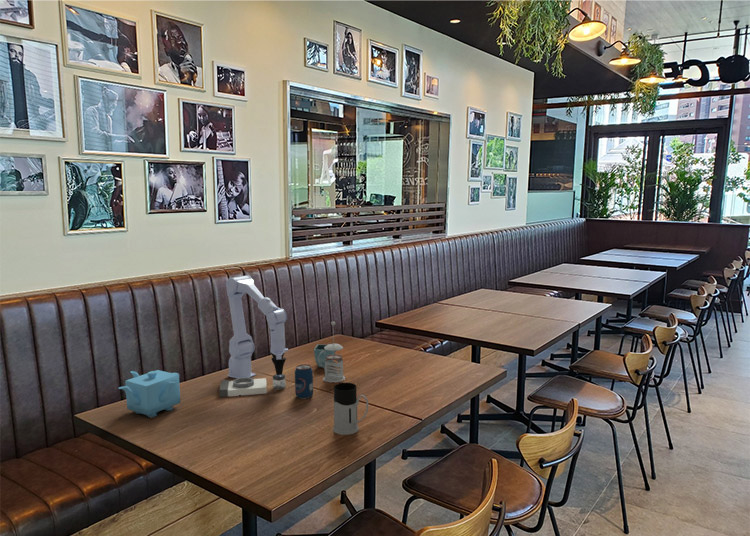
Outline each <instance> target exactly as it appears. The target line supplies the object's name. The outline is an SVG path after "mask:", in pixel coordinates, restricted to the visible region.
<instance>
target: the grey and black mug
mask: <svg viewBox="0 0 750 536" xmlns="http://www.w3.org/2000/svg"><path fill="white" fill-rule="evenodd" d="M361 397H363V398H364V400H365V403H366V405H365V406H366V409H365V412H364V415H363V416H362V417H361V418H360V419H359V420H358V406H359V403H360V398H361ZM368 410H369V401H368V398H367V397H366V395H364V394H360V395H358V396H357V384H355V383H352V382H338V383H337V384H334V386H333V425H334V426H333V427H332V431H333V433H335V434H337V435H341V436H343V435H345V436H348V435H354V434H355V433H357V432H359V430H360V429H359V426H358V425H359V424H358V423H360V422H362V420H364V419H365V418H366V416H367V414H368Z"/></svg>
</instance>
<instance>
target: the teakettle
mask: <svg viewBox="0 0 750 536" xmlns="http://www.w3.org/2000/svg"><path fill="white" fill-rule="evenodd" d="M129 373H131V375H132V378H129V379H127V380H125V383H124V384H125V385H123V386H119V387H118V388H117V389H118V390H122V391H124V392H125V397H126V410H127V411H128V410H129V411H131V412H132V411H133V412H135V414H137V415H138V414H142V415H145V416H147V418H149V417H153V418H156V417H157V415H158V413H159V412H160V411H163V410H165V411H166V412H167V411H169V412H170V411H172V410H174V407H173V406H175V405H178V404H180V403H181V402H182V401H181V389H180V387H181V386H180V385H181V384H180V374H179V373H178V372H169V371H164V370H159V369H156V370H152V371H149V372H147V373H144V374H142V375H139V373H138V371H134V370H131V371H130V372H129ZM155 416H156V417H155Z"/></svg>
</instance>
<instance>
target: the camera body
mask: <svg viewBox="0 0 750 536" xmlns="http://www.w3.org/2000/svg"><path fill="white" fill-rule="evenodd" d="M220 381H221V382H220V388H219V398H227V397H228V396H229V397H239V395H241V396H250V395H253V396H254V395H262V394H267V393H268V390H267V389H268V387H267V378H266V377H263V378H252V377H245V378H238V379H237V378H235V379H233V380H230V379H223V380H220Z"/></svg>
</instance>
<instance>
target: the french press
mask: <svg viewBox="0 0 750 536" xmlns="http://www.w3.org/2000/svg"><path fill="white" fill-rule="evenodd" d="M330 324H331V325H332V336H333V337H332V341H333V343H329V344H326V345H327V346H325V347H324V349H325V350H328V351H335V352H338V351H341V350H343V349H344V347H343V346H342V345H341V344H339V343H335V336H334V335H335V334H334V333H335V331H334V326H335V325H336V322H335V321H331V322H330ZM325 350H323V352H324V351H325ZM321 353H322V351H321V352H320V354H321ZM320 354H319V356H320ZM324 354H325V352H324ZM319 356H318V362H319V365H320V364H321V363H320V361H319ZM330 360H333V361H332V362H329V361H330ZM328 362H329V363H328ZM321 365H322V364H321ZM321 365H320V366H321ZM328 365H329V366H328ZM322 366H323V365H322ZM322 366H321V367H320V368H323V369H324V377H323V378H322V380H323V381H324V382H327V383H332V382H334V383H342V382H343V380H344V381H346V379H345V378H346V376H345V375H344V359H343V356H342V355H341V354H338V353H337V354H336V353H335V354H331V355H327V356H326V360H325V366H324V367H322Z"/></svg>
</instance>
